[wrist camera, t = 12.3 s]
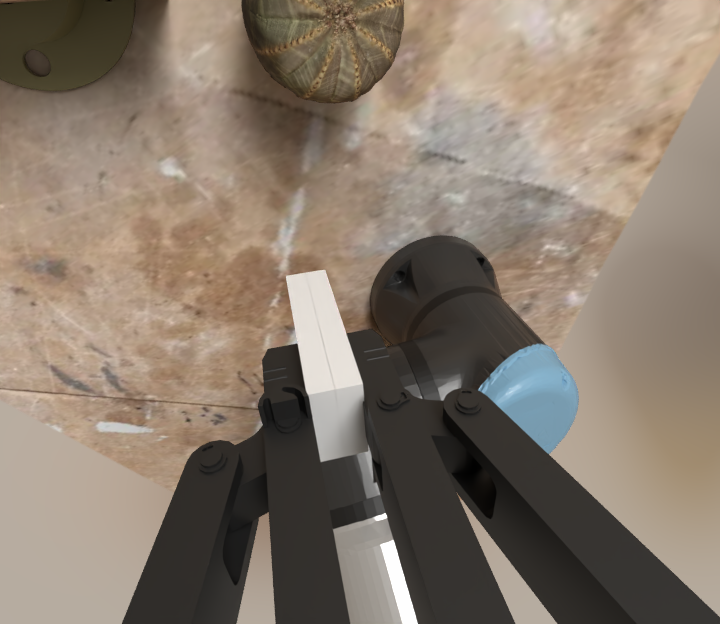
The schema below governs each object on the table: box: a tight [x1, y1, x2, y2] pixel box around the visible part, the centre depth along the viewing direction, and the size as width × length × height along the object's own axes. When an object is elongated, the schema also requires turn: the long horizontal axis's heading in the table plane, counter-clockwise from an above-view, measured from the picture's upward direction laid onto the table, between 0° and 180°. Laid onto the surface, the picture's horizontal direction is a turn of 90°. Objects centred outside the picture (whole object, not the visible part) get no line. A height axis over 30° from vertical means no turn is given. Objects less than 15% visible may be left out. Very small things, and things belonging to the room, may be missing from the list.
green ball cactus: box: [242, 0, 404, 103], centre depth 33 cm, size 11×11×12 cm
